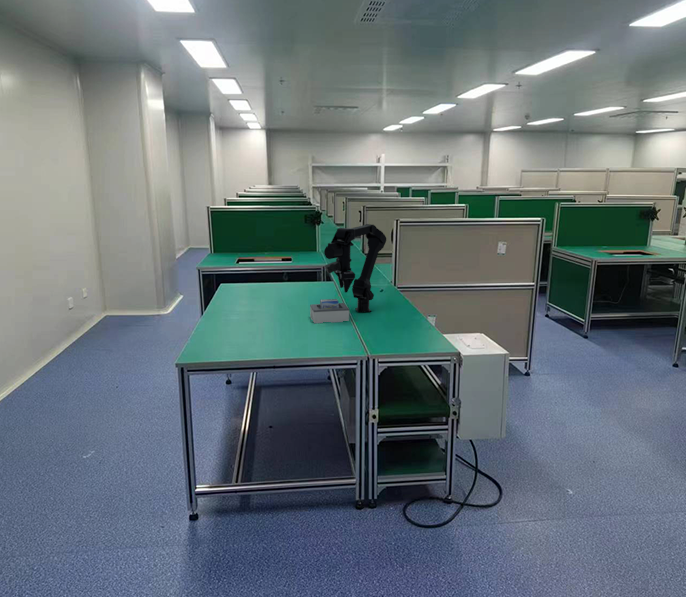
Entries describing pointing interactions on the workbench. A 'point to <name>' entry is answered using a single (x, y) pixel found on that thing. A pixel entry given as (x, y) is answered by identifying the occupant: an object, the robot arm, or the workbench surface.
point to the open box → (329, 313)
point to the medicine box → (329, 304)
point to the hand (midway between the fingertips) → (343, 290)
